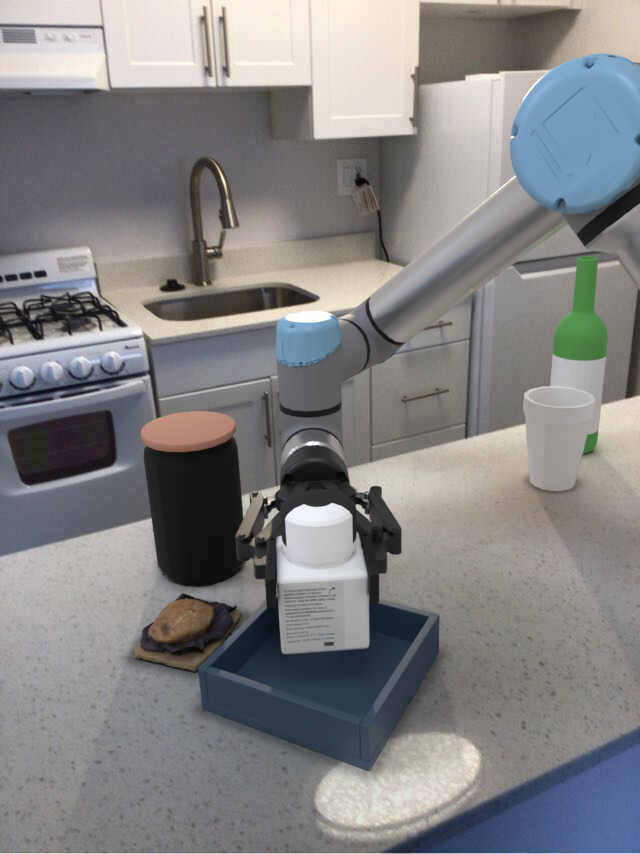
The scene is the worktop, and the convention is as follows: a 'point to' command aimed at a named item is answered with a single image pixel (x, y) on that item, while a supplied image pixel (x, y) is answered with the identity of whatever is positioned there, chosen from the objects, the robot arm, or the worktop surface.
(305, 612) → the container
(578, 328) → the wine bottle
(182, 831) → the worktop surface
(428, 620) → the tote
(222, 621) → the bread roll
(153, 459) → the coffee jar
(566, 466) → the foam cup
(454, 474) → the worktop surface
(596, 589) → the worktop surface
